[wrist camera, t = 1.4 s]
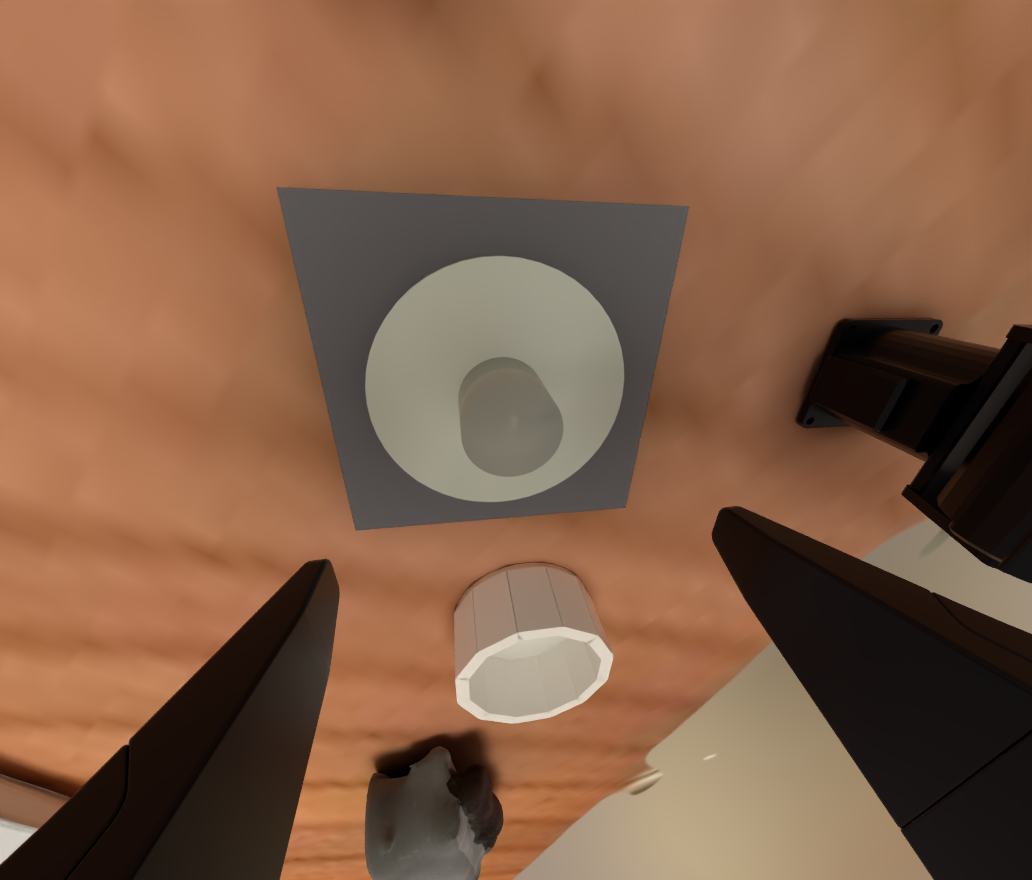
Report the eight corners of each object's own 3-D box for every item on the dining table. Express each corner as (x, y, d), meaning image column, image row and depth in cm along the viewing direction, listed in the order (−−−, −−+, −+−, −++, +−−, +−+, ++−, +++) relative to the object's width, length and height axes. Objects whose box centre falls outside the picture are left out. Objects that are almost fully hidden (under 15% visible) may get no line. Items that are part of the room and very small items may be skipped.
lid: (635, 257, 17) (693, 265, 13) (599, 483, 22) (632, 536, 18) (346, 252, 15) (310, 259, 11) (388, 499, 20) (375, 562, 17)
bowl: (594, 555, 27) (623, 618, 22) (579, 643, 31) (600, 709, 27) (450, 570, 25) (451, 641, 21) (457, 660, 30) (459, 732, 26)
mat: (676, 207, 17) (689, 206, 16) (618, 497, 24) (625, 507, 24) (286, 190, 14) (276, 187, 13) (359, 518, 22) (355, 530, 21)
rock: (506, 797, 44) (517, 901, 37) (409, 822, 43) (402, 933, 36) (484, 719, 35) (493, 836, 28) (361, 747, 34) (339, 876, 27)
